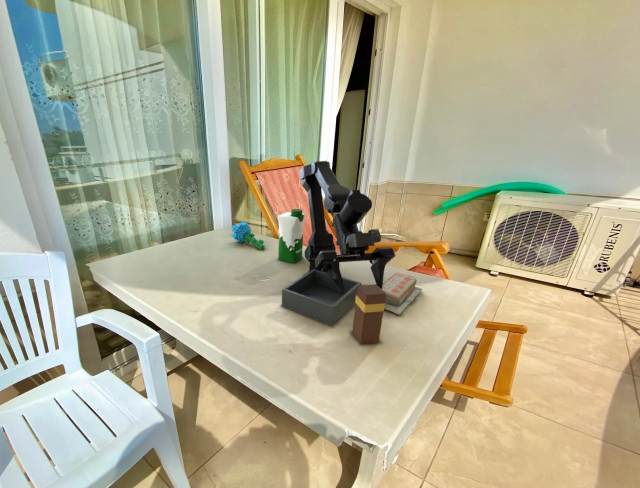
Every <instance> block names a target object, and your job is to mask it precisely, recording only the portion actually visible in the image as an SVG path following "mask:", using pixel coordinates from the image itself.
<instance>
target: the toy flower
mask: <svg viewBox="0 0 640 488" xmlns="http://www.w3.org/2000/svg"><path fill="white" fill-rule="evenodd" d="M231 232H233V233H231V234H230V236H231V237H232V238H233V239H234V240H235V241H237V242H238V243H239V242H240V243H243V242H245V243H246V244H249V243H251V244H252V245H253V246H255V247H256V248H258V249H259V250H264V249H265V246H266V245H265V244H264V242H265V241H264V240H263V239H259V240H258V239H256V237H255V234H254V233H253V232H252V229H251V226H250V225H249V224H248V223H247V222H245V221H241V222H239V224H238V223H236V224H234V225H232V227H231Z"/></svg>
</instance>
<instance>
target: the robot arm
mask: <svg viewBox="0 0 640 488" xmlns="http://www.w3.org/2000/svg"><path fill="white" fill-rule="evenodd" d="M298 176H299V177H298V178H299V180H300V181H301V186H302V188H303V189H304V190H305V191H306V193H307V198H308V207H309V208H308V209H309V216H310V217H309V218H310V226H311V234H310V237H309V239H308V241H307V243H308V244H307V246H306V248H305V250H304V258H305V259H306V261H307V262H308V263H309V265H308V266H309V267H308V271H307V272H306V273H305V274H307V273H308V272H310V271H311V270H313V269H315V270H318V271H322V272H325V273H327V274H328V275H329V276H330V277H331V278H332V280H333V281H334V282H335V283H336V285H337V286H338V287H339V289H340V290H341V291H342V292H345V287H344V282H343V279H342V277H343V276H342V273H341V268H340V263H351V262H367V261H369V263H370V264H371V266H370V271H371V273H372V276H373V279H374V282H375V284H376V285H377V286H378V287H380V288H381V289H382V287H383V283H384V275H385V268H386V265H387V264H389V263H390V262H391V261H392V260H393V259H394V258H395V257H397V255H396V252H395V250H394V248H393V247H391V246H381V247H375V246H376V244H377V243H381V241H382V234H381V232H380V230H379V228H372V229H369V230H368V231H367V232H363V231H362V230H359V227H358V224H360V223H361V222H362V221H363V220H364V218H365V217H366V216H367V215H368V213H369V212H370V210H371V209H372V207H373V200H372V199H370V197H369V196H368V195H366V194H364V193H362V192H361V190H360V189H351V190H350V189H349V188H348V187H346V186H343V185H341V183H340V182H339V180H338V178H337V177H336V175H335V173H334V171H333V169H332V168H331V163H330V161H328V160H315V161H312V163H310V164H307V165H303V166H302V167H301V168H300V169H299V174H298ZM323 194H324V198H323ZM325 210H326V211H325ZM325 212H327V214H335V215H334V217H333V218H332V221H331V227H333V228H334V233H335V236H336V241H335V242H334V235H333V234H332V233H330V232H329V231H328V230H327V225H326V223H327V222H326V214H325ZM335 244H336V245H335ZM336 246H338V249H339V252H340V253H339V254H338V253H337V251H336V250H337V247H336ZM370 247H375V249H374V250H372V252H366V251H369V250H370Z"/></svg>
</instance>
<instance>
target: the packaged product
mask: <svg viewBox="0 0 640 488" xmlns="http://www.w3.org/2000/svg"><path fill="white" fill-rule="evenodd" d="M417 282H418V279H417V278H415V277H414V276H412V275H407V274H404V273H400V272H395V273H394V274H393V275H391V276H390V277H389V278H388V279H387V280H385V281H383V287H382V290H383V291H384V292H385V293H386V298H385V308H384V310H387V311H389V312H392V313H394V314H396V315H399V316H400V315H401V313H403V311H404V310H405V309H406V308H407V307H408V306H409V305H410V304H411V303H412V302H414V301H415V299H416V297H417V296H418V295H419V294H420V293H421V291H423V288H421V287H417V286H416V285H417Z"/></svg>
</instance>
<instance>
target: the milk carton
mask: <svg viewBox="0 0 640 488" xmlns="http://www.w3.org/2000/svg"><path fill="white" fill-rule="evenodd" d="M305 219H306V213H303V209H302V208H293V209H291V210H290V211H286V212H283V213H282V214H279V215H278V216H277V220H278V221H277V222H278V256H277V258H278V260H279V261H282V262H287V263H291V264H296V263H297V262H298V261H300V260H301V259H302V258H303V246H304V226H305Z"/></svg>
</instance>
